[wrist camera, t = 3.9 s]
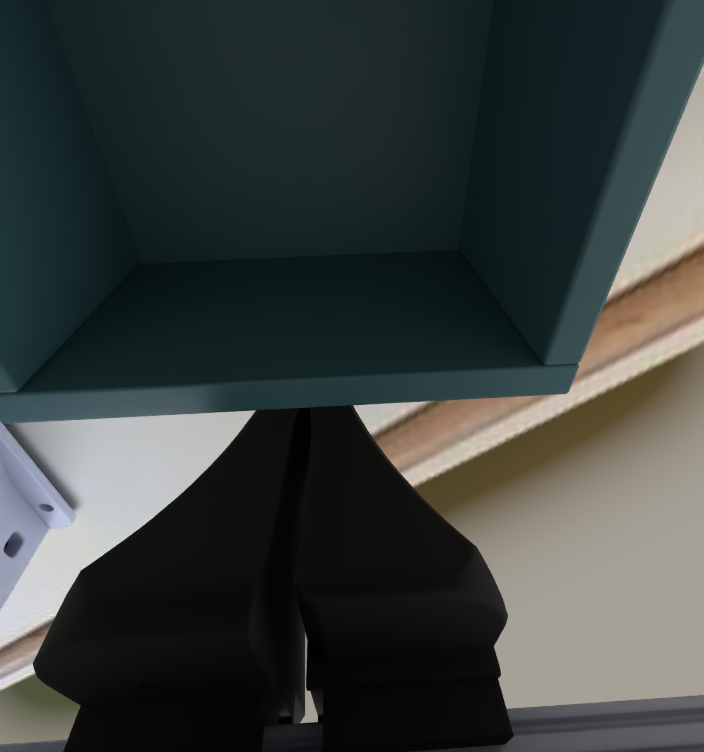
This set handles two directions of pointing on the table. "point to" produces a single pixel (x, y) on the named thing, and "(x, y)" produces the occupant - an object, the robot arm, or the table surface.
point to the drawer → (320, 196)
